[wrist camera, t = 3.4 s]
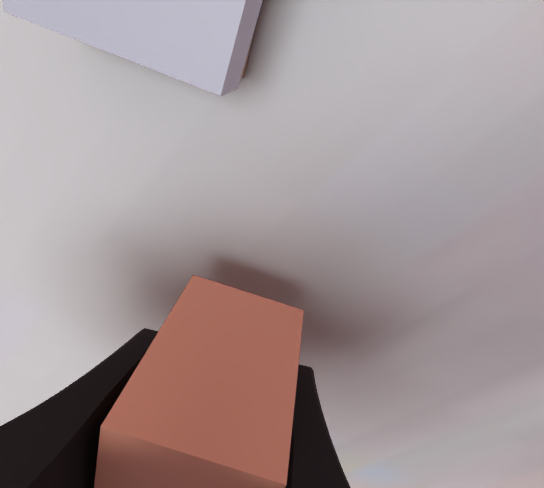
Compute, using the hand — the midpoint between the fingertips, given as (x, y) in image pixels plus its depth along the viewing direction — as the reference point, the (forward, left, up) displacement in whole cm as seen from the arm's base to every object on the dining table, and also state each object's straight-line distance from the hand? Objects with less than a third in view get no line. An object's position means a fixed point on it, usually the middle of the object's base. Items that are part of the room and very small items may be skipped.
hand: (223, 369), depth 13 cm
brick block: (0, 0, -2) cm, 2 cm away
